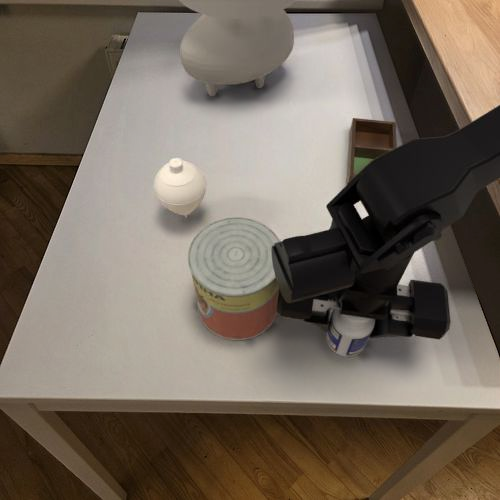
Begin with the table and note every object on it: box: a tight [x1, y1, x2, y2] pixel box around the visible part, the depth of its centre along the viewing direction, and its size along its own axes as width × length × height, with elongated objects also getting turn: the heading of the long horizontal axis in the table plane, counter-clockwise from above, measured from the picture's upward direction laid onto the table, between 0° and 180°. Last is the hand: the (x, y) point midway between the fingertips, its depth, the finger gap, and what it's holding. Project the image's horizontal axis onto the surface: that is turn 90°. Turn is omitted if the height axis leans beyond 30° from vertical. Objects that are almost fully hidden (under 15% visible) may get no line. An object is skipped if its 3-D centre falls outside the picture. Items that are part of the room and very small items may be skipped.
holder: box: [346, 117, 398, 185], centre depth 78 cm, size 8×15×3 cm, turn 171°
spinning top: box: [153, 157, 207, 219], centre depth 67 cm, size 8×8×12 cm
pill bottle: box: [325, 309, 375, 358], centre depth 56 cm, size 5×5×9 cm
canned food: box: [187, 217, 281, 342], centre depth 58 cm, size 11×11×12 cm
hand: (348, 331), depth 58 cm, fingers closed on pill bottle, 5 cm apart
